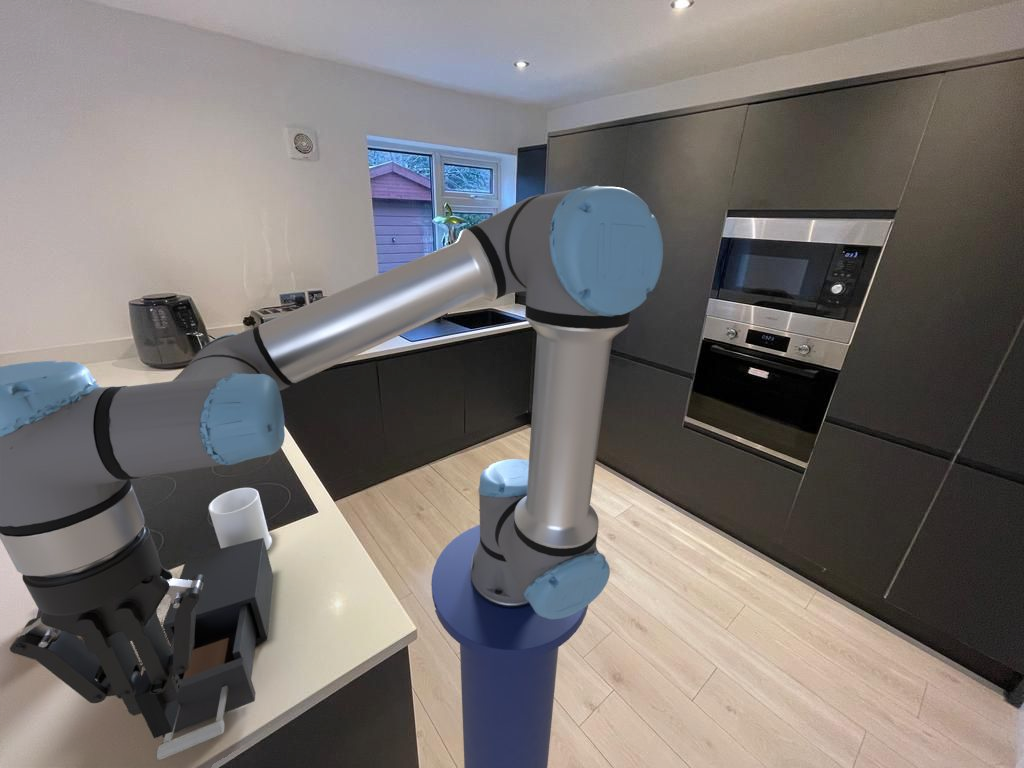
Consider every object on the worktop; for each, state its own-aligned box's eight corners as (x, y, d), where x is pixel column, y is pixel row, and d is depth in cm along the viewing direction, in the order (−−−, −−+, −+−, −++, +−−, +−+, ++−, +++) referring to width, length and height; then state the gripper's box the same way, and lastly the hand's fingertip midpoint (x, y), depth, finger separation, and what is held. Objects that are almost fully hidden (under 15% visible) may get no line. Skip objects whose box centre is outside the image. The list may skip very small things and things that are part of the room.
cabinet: (267, 639, 63) (255, 596, 60) (180, 669, 58) (162, 625, 55) (273, 575, 74) (263, 537, 71) (201, 597, 70) (187, 557, 67)
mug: (245, 524, 87) (233, 477, 83) (286, 522, 88) (275, 476, 83) (212, 566, 76) (195, 515, 72) (259, 564, 77) (245, 514, 72)
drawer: (249, 747, 49) (236, 710, 47) (147, 792, 45) (126, 754, 42) (263, 624, 64) (253, 590, 62) (187, 649, 60) (174, 614, 58)
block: (236, 658, 58) (229, 637, 56) (231, 688, 54) (223, 666, 53) (198, 672, 56) (190, 650, 55) (191, 704, 52) (181, 681, 51)
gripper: (194, 499, 39) (244, 662, 48) (5, 538, 34) (100, 714, 42) (172, 552, 33) (235, 728, 41) (-64, 609, 27) (64, 799, 36)
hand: (167, 721), depth 42 cm, fingers closed
